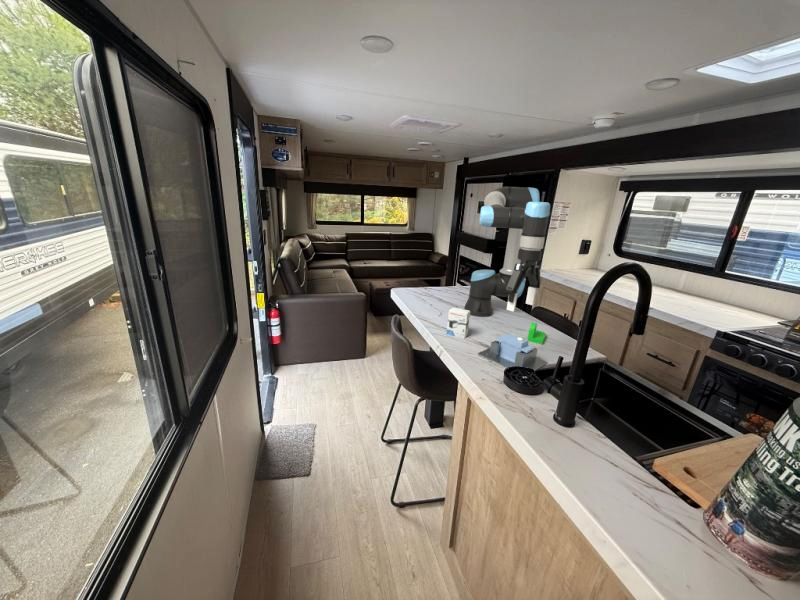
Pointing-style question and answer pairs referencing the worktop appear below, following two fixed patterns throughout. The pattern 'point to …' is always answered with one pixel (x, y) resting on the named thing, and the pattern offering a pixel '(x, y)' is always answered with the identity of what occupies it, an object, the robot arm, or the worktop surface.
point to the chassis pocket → (520, 360)
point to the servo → (513, 346)
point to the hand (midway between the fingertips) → (520, 307)
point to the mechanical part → (535, 334)
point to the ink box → (458, 322)
